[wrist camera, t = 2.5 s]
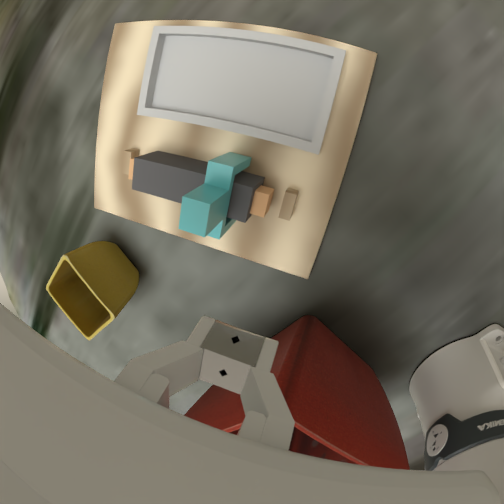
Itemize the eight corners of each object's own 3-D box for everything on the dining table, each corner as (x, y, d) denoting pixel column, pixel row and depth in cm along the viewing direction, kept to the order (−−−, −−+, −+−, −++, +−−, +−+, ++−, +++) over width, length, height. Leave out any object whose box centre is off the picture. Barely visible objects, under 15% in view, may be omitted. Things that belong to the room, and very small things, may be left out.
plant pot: (206, 352, 40) (151, 451, 25) (308, 273, 31) (275, 412, 16) (301, 420, 42) (278, 514, 28) (407, 369, 33) (416, 488, 18)
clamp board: (375, 56, 20) (379, 49, 18) (308, 273, 31) (306, 287, 28) (122, 25, 23) (106, 21, 21) (100, 204, 34) (86, 211, 32)
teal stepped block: (251, 157, 25) (214, 177, 18) (237, 219, 28) (201, 260, 21) (230, 151, 26) (186, 170, 18) (218, 212, 29) (175, 251, 21)
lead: (277, 181, 26) (268, 192, 23) (269, 211, 28) (259, 227, 24) (148, 148, 28) (123, 155, 24) (145, 176, 29) (121, 186, 26)
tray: (345, 54, 20) (346, 50, 18) (319, 152, 24) (318, 154, 23) (162, 29, 22) (153, 26, 21) (146, 113, 26) (136, 114, 25)
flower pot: (86, 256, 39) (43, 288, 31) (112, 222, 35) (62, 253, 27) (125, 303, 40) (88, 341, 33) (157, 275, 36) (116, 318, 28)
